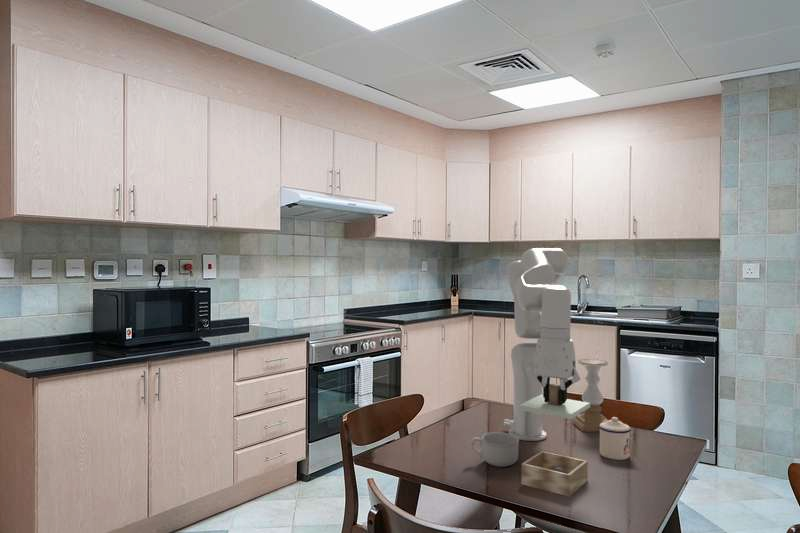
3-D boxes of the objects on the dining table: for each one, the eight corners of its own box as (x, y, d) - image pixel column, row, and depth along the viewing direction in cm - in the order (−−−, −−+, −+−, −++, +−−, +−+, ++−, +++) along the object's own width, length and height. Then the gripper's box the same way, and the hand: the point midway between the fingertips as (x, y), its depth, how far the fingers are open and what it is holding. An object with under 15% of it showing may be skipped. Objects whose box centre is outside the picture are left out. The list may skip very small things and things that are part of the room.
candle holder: (601, 422, 207) (602, 358, 207) (613, 431, 196) (614, 363, 196) (572, 422, 207) (572, 358, 207) (582, 431, 196) (583, 363, 196)
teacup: (520, 460, 167) (521, 434, 167) (516, 473, 157) (516, 445, 157) (474, 455, 172) (475, 429, 172) (467, 467, 161) (467, 439, 161)
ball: (550, 479, 151) (550, 467, 151) (555, 475, 153) (555, 464, 153) (562, 482, 149) (562, 470, 149) (566, 478, 151) (566, 466, 151)
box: (521, 486, 148) (521, 463, 148) (541, 472, 158) (541, 450, 158) (569, 499, 140) (569, 475, 140) (587, 483, 150) (587, 461, 150)
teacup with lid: (631, 462, 166) (631, 423, 166) (598, 458, 169) (598, 419, 169) (629, 449, 177) (629, 413, 177) (599, 446, 181) (599, 410, 181)
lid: (518, 409, 148) (519, 386, 148) (540, 398, 159) (541, 377, 159) (570, 419, 139) (571, 394, 139) (590, 407, 150) (590, 384, 150)
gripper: (520, 332, 151) (520, 400, 151) (581, 338, 141) (580, 411, 141) (532, 329, 157) (532, 394, 157) (591, 335, 147) (590, 404, 147)
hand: (554, 401), depth 149 cm, fingers closed on lid, 3 cm apart
